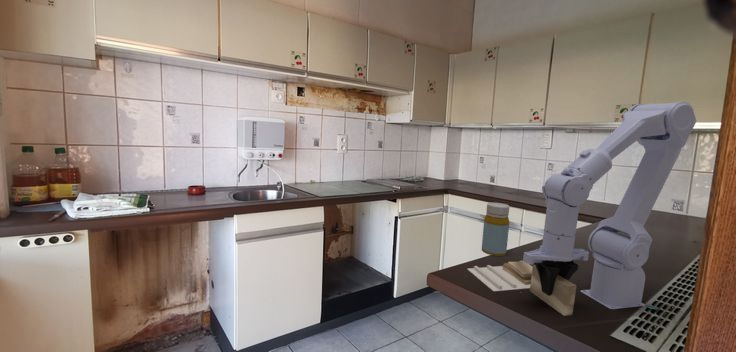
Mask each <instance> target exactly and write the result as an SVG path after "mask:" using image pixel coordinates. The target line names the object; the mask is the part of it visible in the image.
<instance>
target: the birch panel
mask: <svg viewBox="0 0 736 352" xmlns="http://www.w3.org/2000/svg"><path fill="white" fill-rule="evenodd" d="M532 267H533V268H532V277H531V285H530V288H529V292H530V293H532V294H533V295H534V296H536V297H538V299H540V300H541V301H543V302H544V303H545V304H547V305H548V306H549V307H551V308H553V309H554V310H555V311H556V312H558V313H559V314H560V315H562V316H573V314H574V313H573V312H574V305H575V298H576V292H577V285H576V284H575V283H573V282H571V281H570V280H566V279H564V278H563V277H561V276H559V275H557V277H556V280H555V283H554V288H553V292H552V295H551V296H548V295H547V294H545V293H544V292H542V288H541V282H540V277H539V274H538V271H537V268H536V266H535V264H532Z"/></svg>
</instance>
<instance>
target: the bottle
mask: <svg viewBox="0 0 736 352" xmlns="http://www.w3.org/2000/svg"><path fill="white" fill-rule="evenodd" d="M509 213H510V205H509V204H507V203H503V202H502V203H501V202H488V203H487V204H486V213H485V215H484V219H483V228H482V230H483V231H482V240H481V251H482V252H483V253H485V254H486V255H489V256H494V257H503V256H506V255H507V250H508V249H507V248H508V240H509V229H510V218H509Z"/></svg>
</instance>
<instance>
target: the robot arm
mask: <svg viewBox="0 0 736 352" xmlns="http://www.w3.org/2000/svg"><path fill="white" fill-rule="evenodd" d="M696 123H697V118H696V115H695V111H694V109H693V107H692V105H691V104H689V102H686V101H677V102H669V103H668V102H667V103H647V104H645V103H637V104H634V105H633V106H631V108H629V110H628V111H626V112H625V113H623V115H622V121H621V122H620V124H618V126H617V127H616V128H615V129H614V130H613V131H612V132H611V134H610V135H608V136H607V137H606V138H605V140H604V141H603V142H601V144H600V145H599V146H598V147H597V148H596V149H595V148H588V149H586V150H582V151H581V152H580V153H579V156H578V157H577V158H575V160H574V161H572V163H570V164H569V165H568V166H567V167H565V168H564V169H563V170H562V171H561V173H555V174H552V175H551V176H549V177H548V178H547V179H546V180H545V182H544V185H542V186H541V191H542V194H543V197H545V201H544V202H545V203H544V204H545V207H546V211H545V219H544V225H543V226H544V228H543V236H542V243H541V245H540V246H539V248H536V249H535V250H530V251H524V252H523V258H522V261H524V262H526V263H528V264H529V265H531V266H533V265H535V266H536V268H537V271H538V274H539V277H540V282H541V288H542V292H544V293H545V294H547V295H548V296H551V295H552V292H553V288H554V283H555V280H556V277H557V275H559V276H561V277H563V278H564V279H566V280H568V281H570V279H571V278H572V276H573V275H574V274H575V273H576V272H577V271H578V270H579V264H578V263H576V262H574V261H580V260H582V261H583V262H585V261H589V255H590V252H589V251H588V250H586V249H583V248H574V247H575V242H576V234H577V233H576V232H577V225H578V220H579V213H580V206H581V205H582V204H583V203H585V202H587V201H588V198H589V196H590V192H591V190H592V189H593V187H594V185H595V184H596V183H597V182H598V181H599V180H600V179H601V178H602V177H604V176H605V175H606V174H607V173H608V172H609V171H610V170H611V169H612V167H613V162H612V160H613V159H614V158H616V157H617V156H618V155H621V153H622V152H624V151H625V150H626V149H628V148H629V147H630V146H632V145H633V144H634V143H636V142H637V143H638V145H640V146H642V147H643V149H644V150H645V151H644V154H643V156H642V158H641V160H640V162H639V164H638V166H637V169H636V170H635V172H634V175H632V178H631V180H630V182H629V185H628V187H627V189H626V191H625V193H624V194H623V197H622V199H621V201H620V203H619V205H618V207H617V209H616V211H615V213H614V215H613V216H610V217H607V218H604V219H602V220H601V221H600V222H599V224H598V225H597V227H596V228H595V229H594V230H593V231H592V232H591V233H590V235H589V237H588V241H587V245H588V248H589V250H590V251H591V252H592V258H594V263H593V268H592V269H593V270H592V275H591V277H592V278H591V283H590V289H583V290H580V292H581V293H582V294H584V295H586V296H588V297H589V298H591V299H593V300H594V301H596V302H598V303H599V304H601V305H603V306H605V307H606V308H608V309H611V310H617V309H626V308H635V307H643V306H646V304H645V303H643V302H642V301H643V294H644V288H645V284H646V275H645V271H644V269H643V268H642V266H644V265H645V264H646V263H647V261H648V259H649V256H650V247H651V244H652V242H653V238H652V236H651V235H650V234H649V232H648V231H647V230H646V229H645V225H646V222H647V221H648V218H649V216H650V214H651V212H652V210H653V208H654V206H655V204H656V202H657V200H658V198H659V196H660V194H661V192H662V190H663V188H664V186H665V185H666V184H665V183H666V182H667V180H668V178H669V175H671V172H672V170H673V168H674V166H675V164H676V162H677V160H678V157H679V156H680V154H681V151H682V148H684V147H685V145H686V143H687V142H688V139H689V138H690V135H691V133H692V131H693V129H694V127H695V125H696ZM624 234H625V235H624ZM627 235H628V236H627Z"/></svg>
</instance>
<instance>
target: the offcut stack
mask: <svg viewBox="0 0 736 352" xmlns="http://www.w3.org/2000/svg"><path fill="white" fill-rule="evenodd" d="M502 266H503V267H502V269H503V270H505V271H506V272H508V273H509V274H511V275H512V276H513V277H515V278H516V279H518V280H519V281H521V282H522V283H523V284H525V285H529V284H531V277H532V268H533V265H529V264H528V263H526V262H519V261H508V262H505V263H503V264H502Z"/></svg>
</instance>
